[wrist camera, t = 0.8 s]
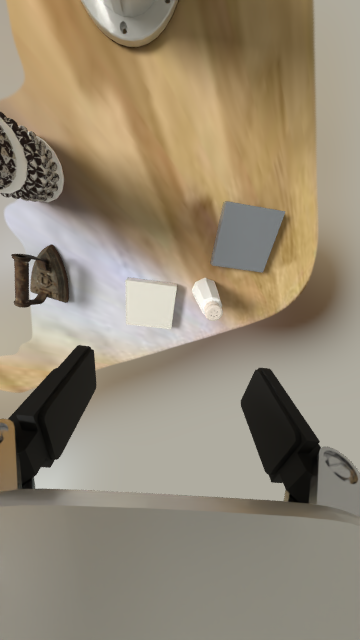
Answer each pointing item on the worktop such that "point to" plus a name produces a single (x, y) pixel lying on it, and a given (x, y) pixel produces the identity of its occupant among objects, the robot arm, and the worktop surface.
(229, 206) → the plate
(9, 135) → the decorative candle
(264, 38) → the worktop surface
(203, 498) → the robot arm
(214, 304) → the salt shaker
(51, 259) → the clothes iron
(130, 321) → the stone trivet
